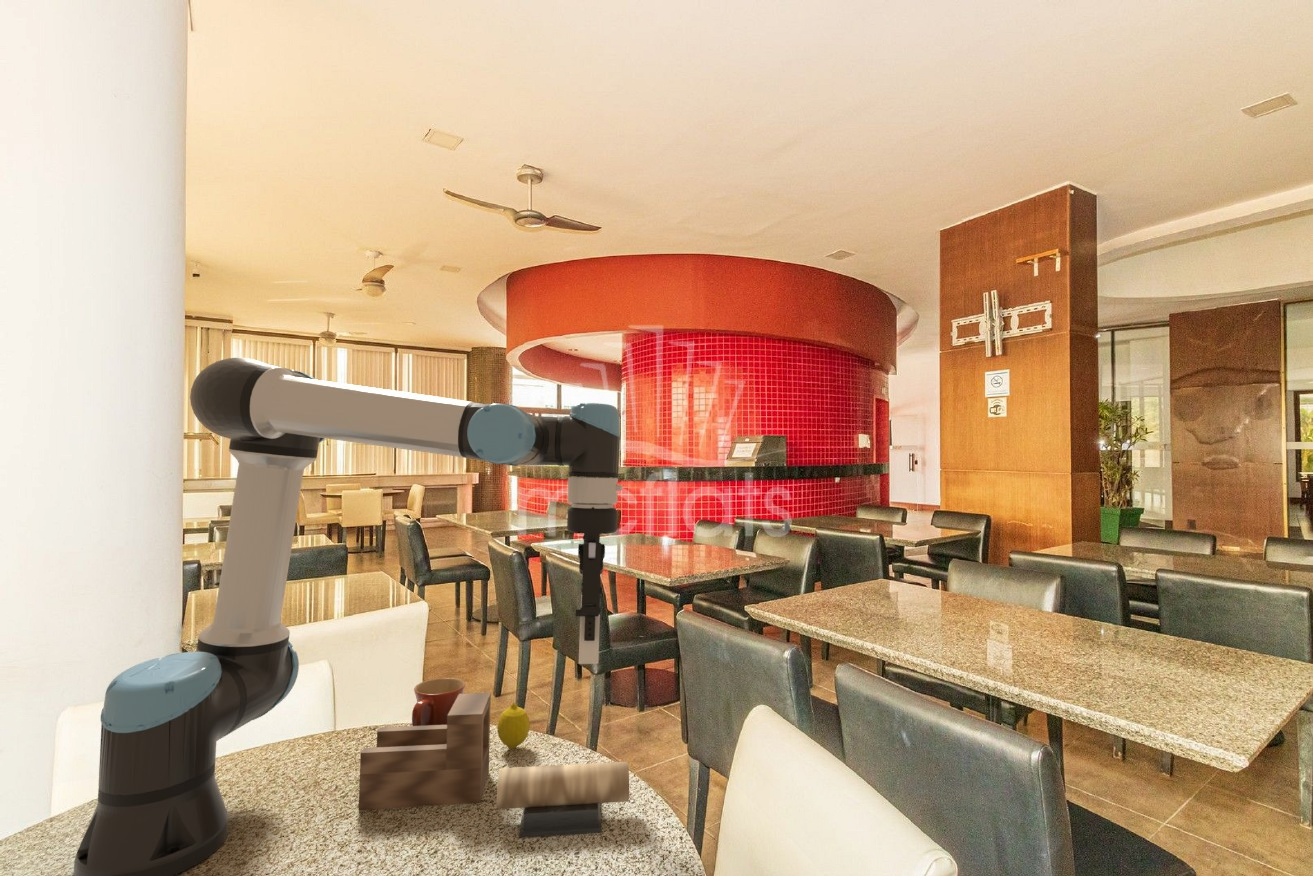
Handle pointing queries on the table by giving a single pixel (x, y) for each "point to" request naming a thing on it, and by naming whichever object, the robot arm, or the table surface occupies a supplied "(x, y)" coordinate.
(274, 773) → the table surface
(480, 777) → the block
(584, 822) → the cradle
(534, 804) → the axle
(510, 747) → the fruit
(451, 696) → the mug
